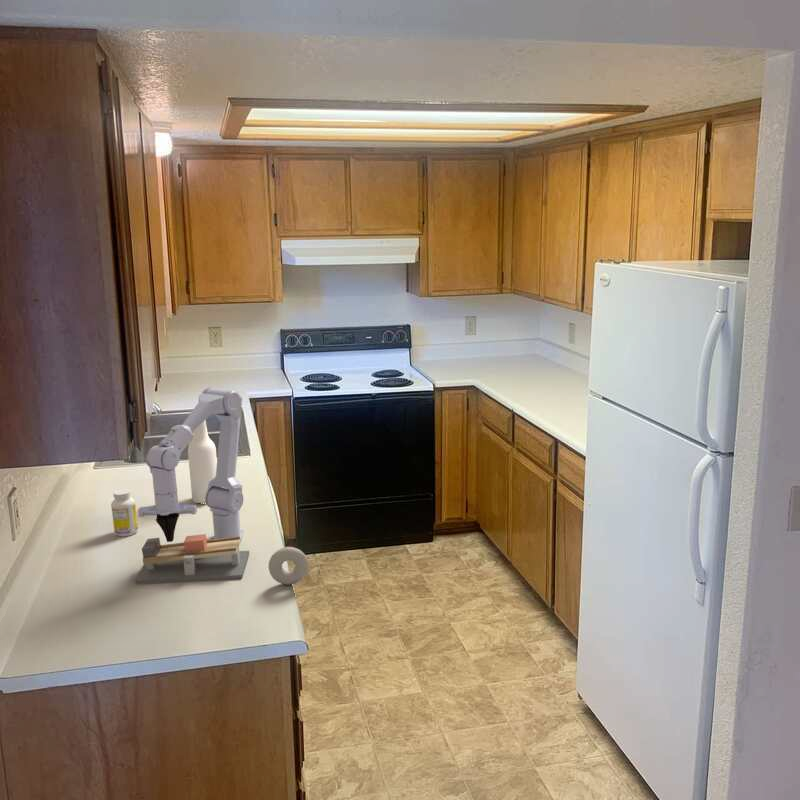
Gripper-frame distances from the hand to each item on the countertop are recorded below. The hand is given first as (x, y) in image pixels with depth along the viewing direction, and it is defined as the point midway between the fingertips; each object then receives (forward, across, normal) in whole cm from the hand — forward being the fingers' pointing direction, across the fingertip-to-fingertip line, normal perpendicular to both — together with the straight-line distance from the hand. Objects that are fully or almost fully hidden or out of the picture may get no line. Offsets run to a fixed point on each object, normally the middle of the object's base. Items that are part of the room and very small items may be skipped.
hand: (170, 540), depth 209 cm
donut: (+8, +32, -12) cm, 35 cm away
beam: (+3, +6, 0) cm, 6 cm away
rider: (+3, +6, 0) cm, 7 cm away
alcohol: (+8, 0, +52) cm, 53 cm away
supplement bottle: (+8, -20, +27) cm, 34 cm away
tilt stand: (+8, +6, 0) cm, 10 cm away
